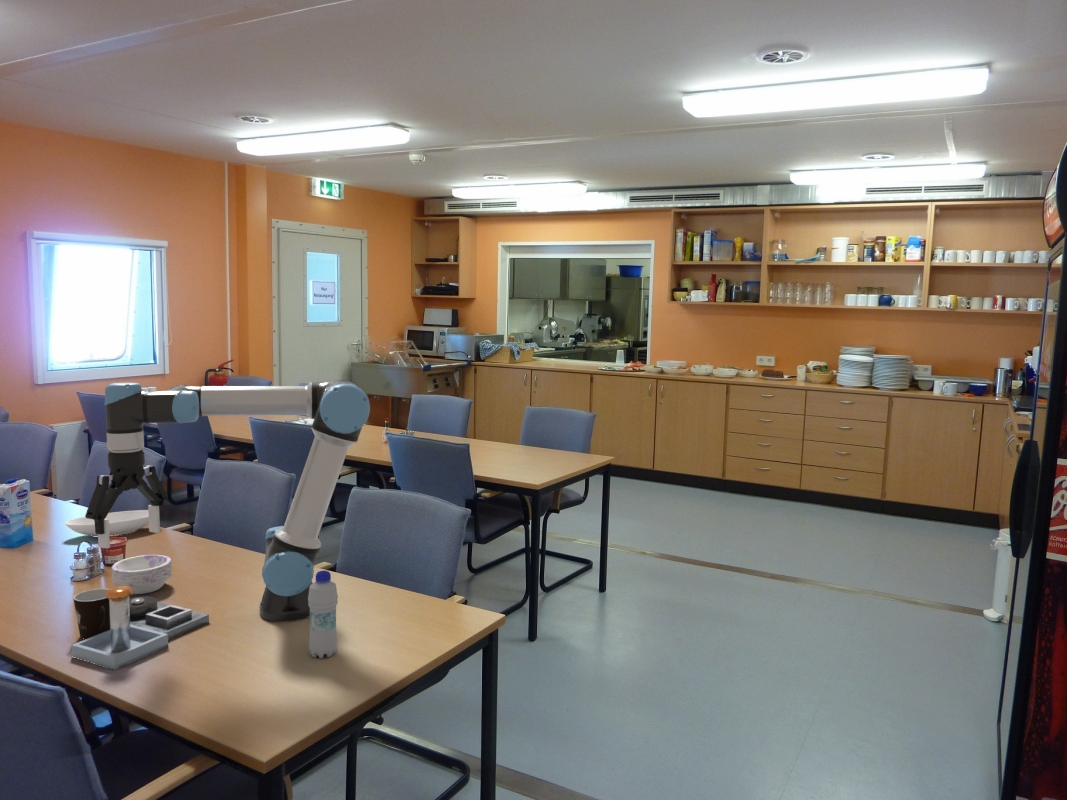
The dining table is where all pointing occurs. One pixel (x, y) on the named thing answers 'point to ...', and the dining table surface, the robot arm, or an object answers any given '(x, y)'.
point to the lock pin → (119, 618)
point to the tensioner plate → (164, 616)
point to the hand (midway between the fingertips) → (130, 539)
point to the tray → (101, 654)
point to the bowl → (112, 523)
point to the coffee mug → (92, 612)
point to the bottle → (322, 615)
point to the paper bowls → (142, 573)
